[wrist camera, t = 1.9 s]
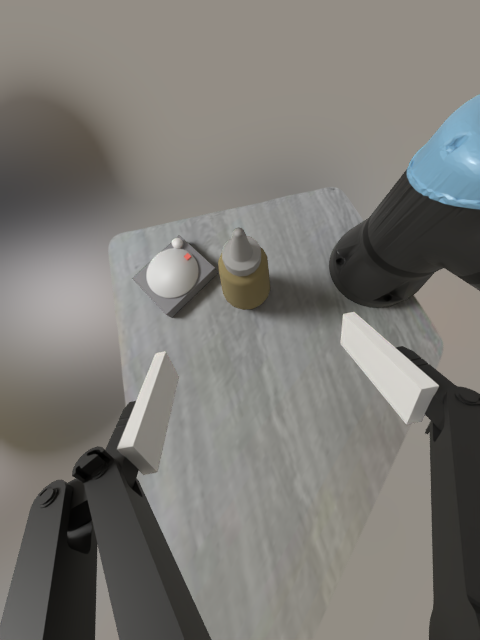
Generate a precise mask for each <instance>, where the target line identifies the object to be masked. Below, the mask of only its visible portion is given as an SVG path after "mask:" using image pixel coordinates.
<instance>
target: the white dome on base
mask: <svg viewBox="0 0 480 640" xmlns="http://www.w3.org/2000/svg"><path fill="white" fill-rule="evenodd" d="M217 274H218V273H217V271H216V269H215V267H214V266H212V265H211V264H210V263H209V262H208V261H207V260H206V259H205V258H204V257H203V256H202V255H200V254H199V253H198V252H197V251H196V250H195V249H194V248H193V247H192V246H191V245H189V244H188V243H187V242H186V241H185V240H184V239H183V238H182V237H181V236H180V235H179V236H178V237H177V238H175V239H173V240H172V242H171V243H170V244H169V245H168V246H167V247H166V248H165V249H163V250H162V251H161V252H160V253H159V254H157V255H156V256H155V257H154V258H153V259H152V260H151V261H150V262H149V263H148V264H147V265H146V266H145V267H144V268H143V269H142V270H141V271H139V272H138V273H137V274H136V275H135V276H134V277H133V278H132V279H133V280H134V281H135V282H136V283H137V284H138V285H139V286H140V288H141V289H142V290H143V291H144V292H145V293H146V294H147V295H148V296H149V297H150V298H151V299H152V300H153V301H154V302H155V303H156V305H157V306H158V307H159V308H160V309H161V310H162V311H163V312H164V313H165V314H166V315H168V316H169V317H171V318H172V317H173V316H174V315H175V314H176V313H177V312H178V311H179V310H180V309H181V308H182V307H183V306H184V305H185V304H186V303H187V302H189V301H190V300H191V299H192V298H193V297H194V296H195V295H196V294H197V293H198V292H199V291H200V290H201V289H202V288H203V287H204V286H205V285H206V284H207V283H208V282H209V281H210V280H211V279H212V278H213V277H215V276H216V275H217Z"/></svg>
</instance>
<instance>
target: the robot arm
mask: <svg viewBox="0 0 480 640" xmlns="http://www.w3.org/2000/svg"><path fill="white" fill-rule="evenodd" d="M442 268H446V269H447V270H449V271H450V272H452V273H453V274H455V275H456V276H458V277H459V278H461V279H463V280H464V281H466V282H467V283H469V284H470V285H472V286H473V287H475V288H477V289H478V290H479V291H480V94H479V95H477V96H476V97H474V98H472V99H471V100H469V101H467V102H466V103H465V104H463V105H462V106H461V107H459V108H458V109H457V110H456V111H455V112H454V113H453V114H452V115H451V116H450V117H449V118H448V119H447V120H446V121H445V122H444V123H443V124H442V126H441V127H440V128H439V129H438V130H437V132H436V133H435V134H434V135H433V136H432V137H431V139H430V140H429V141H428V142H427V143H426V144H425V145H424V146H423V147H422V148H421V149H420V150H419V151H418V152H417V153H416V154H415V155H414V156H413V158H412V160H411V161H410V163H409V166H408V168H407V170H406V171H405V172H404V174H403V175H402V176H401V178H400V179H399V180H398V181H397V183H396V184H395V185H394V187H393V188H392V189H391V190H390V192H389V193H388V194H387V195H386V197H385V198H384V199H383V201H382V202H381V203H380V204H379V206H378V207H377V208H376V210H375V211H374V212H373V213H372V215H371V216H370V217H369V218H368V219H366V220H365V221H363V222H362V223H360V224H358V225H357V226H355V227H354V228H352V229H351V230H349V231H348V232H347V233H345V234H344V235H343V236H342V237H341V239H340V240H339V241H338V243H337V244H336V246H335V247H334V249H333V251H332V253H331V256H330V261H329V269H330V274H331V277H332V280H333V282H334V284H335V285H336V287H337V288H338V289H339V291H340V292H341V293H342V294H343V295H345V296H346V297H347V298H348V299H350V300H352V301H353V302H356V303H358V304H360V305H363V306H368V307H377V308H378V307H388V306H392V305H395V304H397V303H399V302H402V301H404V300H406V299H408V298H410V297H411V296H412V295H414V294H415V293H416V292H417V291H418V290H419V289H420V288H421V287H422V286H423V285H424V284H425V283H426V281H427V280H428V279H429V278H430V277H431V276H432V275H433V274H434V272H436V271H438V270H440V269H442ZM341 345H342V346H343V347H344V348H345V350H346V351H347V352H348V353H349V355H350V356H351V357H352V358H353V359H354V361H355V362H356V363H357V364H358V366H359V367H360V368H361V369H362V370H363V372H364V373H365V374H366V375H367V377H368V378H369V379H370V380H371V381H372V383H373V384H374V385H375V386H376V388H377V389H378V390H379V391H380V393H381V394H382V395H383V396H384V397H385V399H386V400H387V401H388V402H389V404H390V405H391V406H392V407H393V408H394V410H395V411H396V412H397V413H398V415H399V416H400V417H401V418H402V419H403V421H404V422H405V423H406V424H411V423H416V422H421V421H422V420H423V417H424V416H425V415H426V416H427V417H428V418H429V419H430V420H431V422H430V424H429V426H428V428H427V429H426V432H425V433H426V434H428V433H429V432H430V461H431V462H430V463H431V505H432V546H433V591H434V604H433V611H432V614H431V618H430V626H429V640H480V394H478V393H477V392H475V391H473V390H470V389H467V388H464V387H457V386H456V385H454V384H453V383H452V382H451V381H449V380H448V379H447V378H446V377H444V376H443V375H442V374H441V373H439V372H438V371H437V370H436V369H434V368H433V367H432V366H431V365H428V363H427V362H426V361H424V360H423V359H421V357H419V356H418V355H417V354H416V353H415V352H413V351H411V350H409V349H407V348H405V347H403V346H401V347H396V348H395V347H394V346H393V345H392V344H390V343H389V342H388V341H387V340H386V339H385V338H384V337H382V336H381V335H380V334H379V333H378V332H377V331H375V330H374V329H373V328H372V327H371V326H370V325H369V324H367V323H366V322H365V321H364V320H363V319H362V318H360V317H359V316H358V315H357V314H356V313H355V312H350V313H345V314H343V322H342V333H341ZM178 379H179V376H178V374H177V372H176V370H175V368H174V366H173V364H172V363H171V361H170V359H169V357H168V355H167V353H166V351H165V352H160V353H156V354H155V356H154V359H153V361H152V364H151V366H150V369H149V371H148V374H147V376H146V378H145V381H144V383H143V386H142V388H141V391H140V393H139V396H138V398H137V401H134V402H129V404H128V405H127V406H126V407H125V409H124V410H123V412H122V414H121V416H120V419H119V421H118V423H117V425H116V428H115V430H114V432H113V434H112V436H111V439H110V441H109V443H108V445H107V447H106V450H104V449H103V448H102V447H95V448H92V449H90V450H88V451H87V452H86V453H85V454H83V455H82V456H81V457H80V458H79V460H78V461H77V462H76V464H75V466H74V469H73V473H72V476H74V477H75V478H76V479H74V480H72V481H70V482H68V483H67V482H65V481H63V480H56V481H54V482H52V483H51V484H49V485H48V486H46V487H45V488H44V489H43V490H42V491H41V492H40V493H39V494H38V496H37V497H36V499H35V500H34V502H33V504H32V507H31V509H30V513H29V517H28V520H27V524H26V528H25V532H24V536H23V539H22V543H21V547H20V551H19V555H18V559H17V563H16V567H15V570H14V574H13V578H12V581H11V586H10V589H9V593H8V597H7V600H6V604H5V608H4V612H3V616H2V620H1V623H0V640H95V616H96V615H95V612H96V576H97V575H96V574H97V544H98V548H99V552H100V556H101V561H102V565H103V570H104V574H105V579H106V583H107V587H108V592H109V596H110V600H111V605H112V609H113V614H114V618H115V622H116V627H117V631H118V635H119V640H211V638H210V636H209V634H208V631H207V629H206V627H205V625H204V623H203V620H202V618H201V616H200V614H199V612H198V610H197V607H196V605H195V603H194V601H193V599H192V596H191V594H190V592H189V590H188V588H187V586H186V583H185V581H184V579H183V577H182V575H181V572H180V570H179V568H178V566H177V564H176V562H175V559H174V557H173V555H172V553H171V551H170V548H169V546H168V544H167V542H166V540H165V538H164V535H163V533H162V531H161V529H160V527H159V524H158V522H157V520H156V518H155V516H154V514H153V511H152V509H151V507H150V505H149V503H148V500H147V498H146V496H145V494H144V492H143V490H142V487H141V485H140V483H139V481H138V480H137V479H136V477H137V474H138V470H139V471H140V472H141V473H142V474H143V475H146V474H151V473H156V472H158V467H159V463H160V459H161V454H162V450H163V445H164V441H165V436H166V432H167V427H168V423H169V419H170V414H171V410H172V405H173V401H174V396H175V392H176V387H177V383H178Z"/></svg>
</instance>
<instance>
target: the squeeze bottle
mask: <svg viewBox="0 0 480 640" xmlns="http://www.w3.org/2000/svg"><path fill="white" fill-rule="evenodd" d="M218 266H219V274H220V280H221V285H222V290H223V294H224V296H225V298H226V300H227V301H228V302H229V303H230V304H231V305H232V306H234V307H236V308H239V309H243V310H245V309H253V308H255V307H257V306H259V305H261V304H262V303H263V302H264V301H265V300H266V299H267V297H268V294H269V291H270V280H269V270H268V260H267V255H266V254H265V252H264V250H263V249H262V248H261V247H260V246H259V244H258V242H257V241H256V240H254V239H253V238H252V237H249V236H246V234H245V232H244V230H243V229H242V228H236V229H234V230H233V233H232V238H231V239H229V240H228V241H227V243H226V244H225V245H224V247H223V250H222V253H221V256H220V258H219V261H218Z"/></svg>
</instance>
